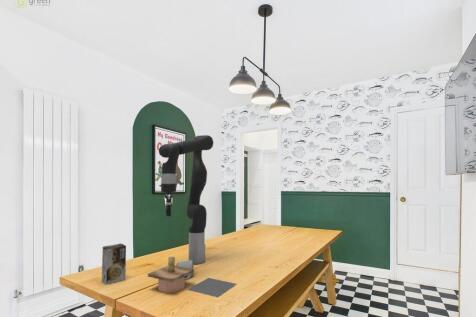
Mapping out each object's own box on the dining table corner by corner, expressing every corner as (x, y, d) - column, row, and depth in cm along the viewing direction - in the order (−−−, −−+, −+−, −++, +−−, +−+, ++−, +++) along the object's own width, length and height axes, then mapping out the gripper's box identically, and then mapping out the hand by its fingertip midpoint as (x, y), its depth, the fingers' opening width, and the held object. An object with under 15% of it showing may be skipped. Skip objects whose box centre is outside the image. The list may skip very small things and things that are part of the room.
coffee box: (120, 276, 134) (121, 243, 135) (125, 279, 129) (126, 245, 130) (100, 281, 127) (102, 246, 129) (105, 284, 123) (107, 248, 124)
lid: (170, 267, 128) (170, 251, 129) (193, 272, 122) (193, 255, 122) (147, 276, 116) (148, 259, 117) (172, 282, 109) (172, 264, 110)
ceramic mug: (177, 274, 136) (177, 258, 136) (193, 273, 137) (193, 258, 137) (174, 282, 125) (174, 265, 126) (192, 281, 126) (192, 265, 127)
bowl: (170, 281, 126) (170, 268, 126) (189, 286, 121) (189, 272, 121) (152, 290, 116) (153, 276, 117) (171, 295, 111) (172, 280, 111)
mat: (208, 279, 129) (208, 277, 129) (237, 285, 122) (237, 283, 122) (186, 291, 115) (186, 289, 115) (218, 298, 108) (218, 297, 108)
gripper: (161, 182, 142) (160, 213, 141) (161, 183, 129) (160, 217, 127) (175, 182, 144) (175, 213, 143) (177, 182, 131) (176, 216, 130)
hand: (168, 215), depth 135 cm, fingers open, 8 cm apart
